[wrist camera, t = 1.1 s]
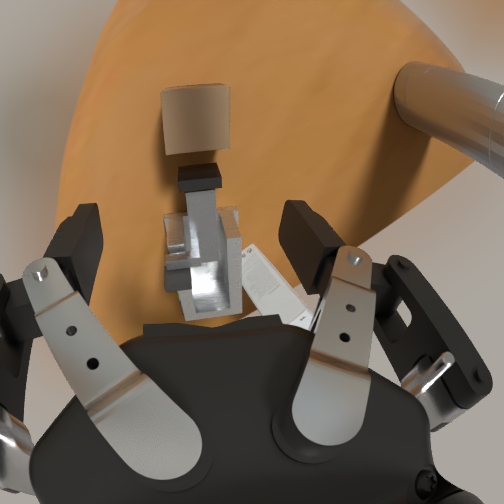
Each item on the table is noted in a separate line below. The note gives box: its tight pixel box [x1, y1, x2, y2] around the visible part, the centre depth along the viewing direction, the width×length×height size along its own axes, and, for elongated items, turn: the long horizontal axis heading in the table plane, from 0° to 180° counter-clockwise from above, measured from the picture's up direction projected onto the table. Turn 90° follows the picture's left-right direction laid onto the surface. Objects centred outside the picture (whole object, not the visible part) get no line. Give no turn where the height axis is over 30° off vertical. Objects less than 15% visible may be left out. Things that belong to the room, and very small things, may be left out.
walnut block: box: [161, 83, 230, 155], centre depth 21 cm, size 5×5×6 cm
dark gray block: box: [164, 266, 193, 292], centre depth 25 cm, size 2×1×3 cm, turn 89°
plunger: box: [165, 163, 222, 270], centre depth 25 cm, size 6×10×6 cm, turn 179°
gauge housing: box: [164, 206, 242, 321], centre depth 31 cm, size 8×11×6 cm
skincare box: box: [242, 244, 314, 330], centre depth 32 cm, size 6×4×12 cm
